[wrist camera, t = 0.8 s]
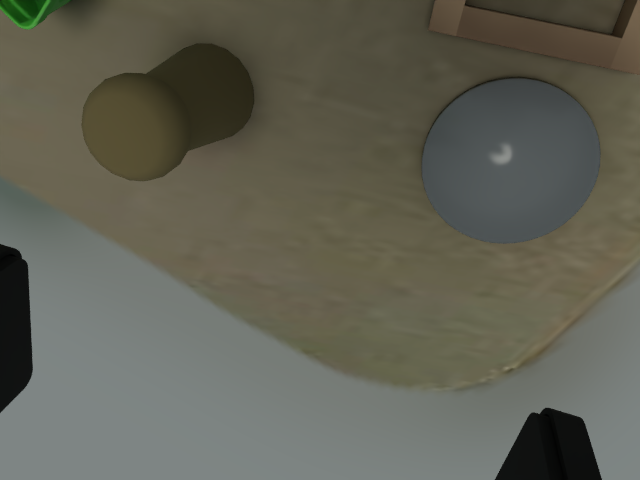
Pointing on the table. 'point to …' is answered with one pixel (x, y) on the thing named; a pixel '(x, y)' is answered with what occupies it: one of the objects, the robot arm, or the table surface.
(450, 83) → the table surface
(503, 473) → the robot arm
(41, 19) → the fruit basket
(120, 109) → the cork
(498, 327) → the table surface
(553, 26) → the walnut holder
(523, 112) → the slate coaster
